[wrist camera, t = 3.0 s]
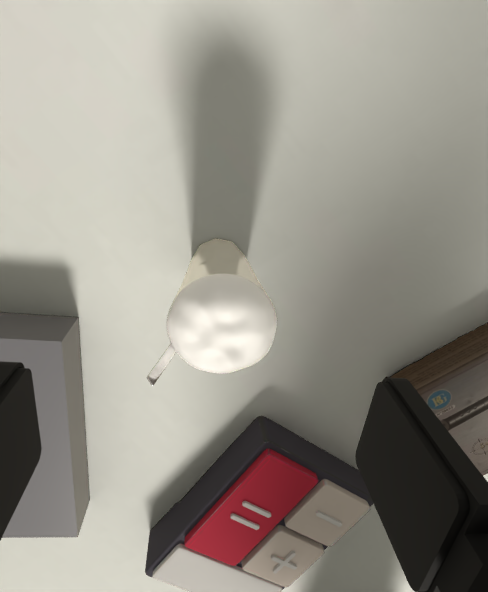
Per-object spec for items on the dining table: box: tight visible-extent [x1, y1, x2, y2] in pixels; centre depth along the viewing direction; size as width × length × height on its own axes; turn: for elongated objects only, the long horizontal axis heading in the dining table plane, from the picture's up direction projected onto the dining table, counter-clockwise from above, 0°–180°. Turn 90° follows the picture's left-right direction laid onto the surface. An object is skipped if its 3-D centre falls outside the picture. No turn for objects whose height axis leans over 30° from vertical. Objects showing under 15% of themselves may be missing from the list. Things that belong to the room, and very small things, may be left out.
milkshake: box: [147, 238, 277, 386], centre depth 19 cm, size 5×5×10 cm
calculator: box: [145, 416, 373, 592], centre depth 30 cm, size 11×4×15 cm
